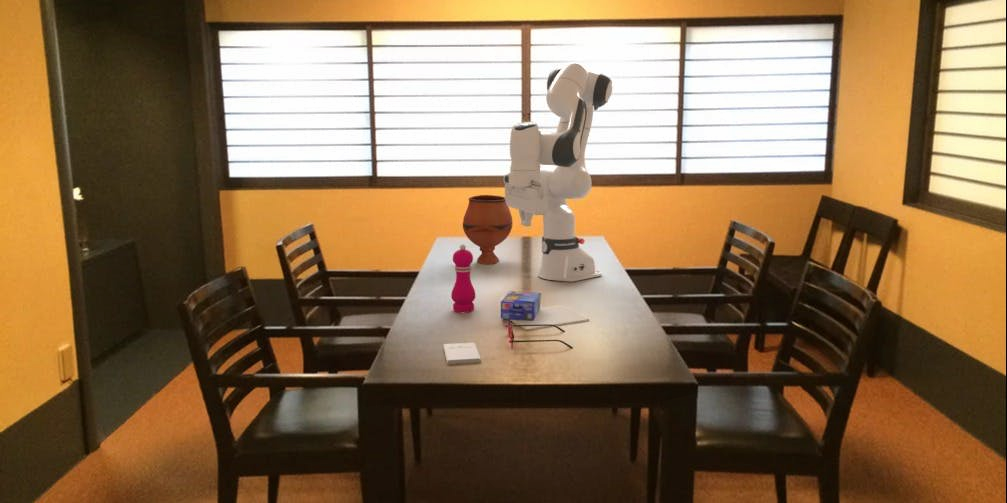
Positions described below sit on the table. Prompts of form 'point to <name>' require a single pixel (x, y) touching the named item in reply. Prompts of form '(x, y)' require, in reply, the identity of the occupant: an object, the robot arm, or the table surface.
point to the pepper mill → (463, 281)
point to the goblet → (487, 224)
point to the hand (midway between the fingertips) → (526, 225)
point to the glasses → (511, 335)
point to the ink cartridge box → (520, 305)
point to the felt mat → (552, 317)
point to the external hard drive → (461, 353)
